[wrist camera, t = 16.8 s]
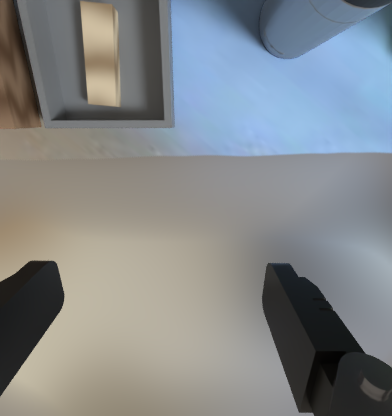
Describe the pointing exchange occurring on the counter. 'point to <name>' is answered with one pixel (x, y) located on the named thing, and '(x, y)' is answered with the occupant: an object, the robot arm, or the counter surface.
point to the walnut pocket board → (14, 75)
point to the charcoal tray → (75, 64)
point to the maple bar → (101, 53)
